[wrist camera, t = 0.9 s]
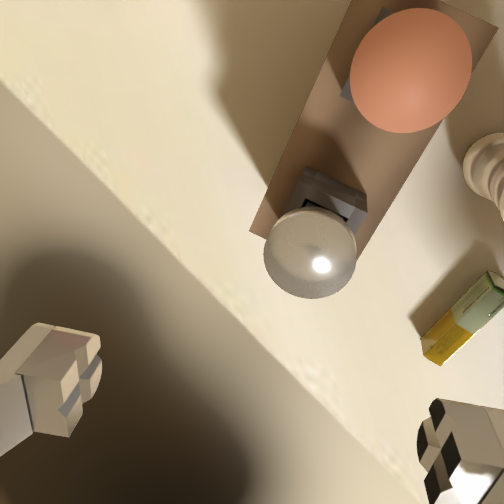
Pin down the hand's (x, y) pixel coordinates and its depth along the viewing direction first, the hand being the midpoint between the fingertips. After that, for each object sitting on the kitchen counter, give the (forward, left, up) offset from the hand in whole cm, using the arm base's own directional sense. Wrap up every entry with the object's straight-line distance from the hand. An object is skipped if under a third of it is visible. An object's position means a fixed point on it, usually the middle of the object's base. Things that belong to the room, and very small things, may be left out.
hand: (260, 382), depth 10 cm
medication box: (-23, +12, -40) cm, 48 cm away
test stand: (-1, -2, -40) cm, 40 cm away
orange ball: (-1, -8, -24) cm, 25 cm away
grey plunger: (-1, +4, -24) cm, 24 cm away
